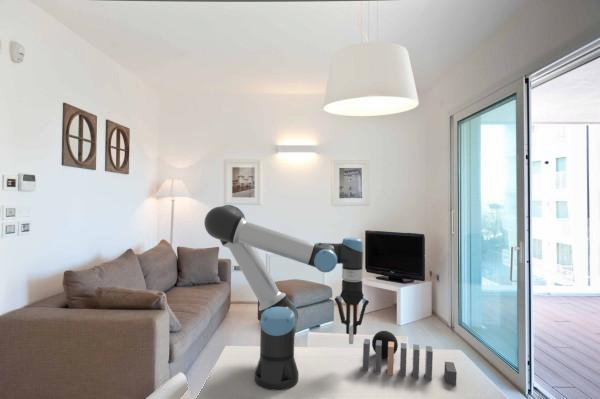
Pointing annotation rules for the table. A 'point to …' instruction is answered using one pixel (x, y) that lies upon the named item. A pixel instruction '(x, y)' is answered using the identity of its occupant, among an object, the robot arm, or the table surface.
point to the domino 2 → (378, 356)
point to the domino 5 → (415, 361)
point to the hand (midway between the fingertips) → (351, 342)
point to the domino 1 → (366, 354)
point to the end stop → (450, 373)
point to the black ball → (385, 342)
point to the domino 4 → (403, 359)
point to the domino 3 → (390, 357)
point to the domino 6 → (428, 362)
